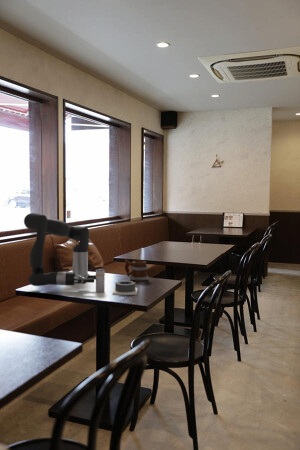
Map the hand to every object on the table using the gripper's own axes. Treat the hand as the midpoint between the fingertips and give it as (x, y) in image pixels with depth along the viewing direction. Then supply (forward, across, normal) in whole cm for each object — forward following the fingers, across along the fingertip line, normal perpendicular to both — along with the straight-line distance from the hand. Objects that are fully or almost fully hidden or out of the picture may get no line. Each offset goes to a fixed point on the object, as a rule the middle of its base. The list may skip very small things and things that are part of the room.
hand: (95, 278), depth 229 cm
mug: (+22, +31, +7) cm, 39 cm away
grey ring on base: (+17, 0, +7) cm, 18 cm away
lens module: (+3, 0, +7) cm, 8 cm away
